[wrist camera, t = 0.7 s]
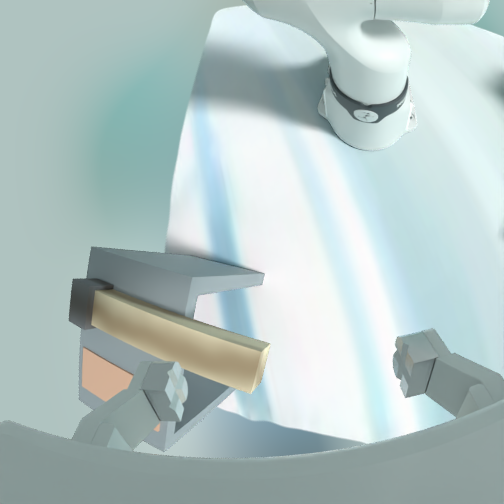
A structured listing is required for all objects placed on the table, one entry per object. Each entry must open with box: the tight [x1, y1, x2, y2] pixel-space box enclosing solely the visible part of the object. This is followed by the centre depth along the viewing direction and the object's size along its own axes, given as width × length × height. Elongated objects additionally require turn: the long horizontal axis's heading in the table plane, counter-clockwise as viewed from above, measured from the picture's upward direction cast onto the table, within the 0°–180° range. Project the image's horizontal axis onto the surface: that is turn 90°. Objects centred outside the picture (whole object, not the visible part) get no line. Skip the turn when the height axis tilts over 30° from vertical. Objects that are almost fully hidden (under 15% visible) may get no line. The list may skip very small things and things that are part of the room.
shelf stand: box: [79, 247, 264, 452], centre depth 45 cm, size 22×15×26 cm
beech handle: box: [69, 278, 270, 394], centre depth 29 cm, size 5×22×4 cm, turn 77°
